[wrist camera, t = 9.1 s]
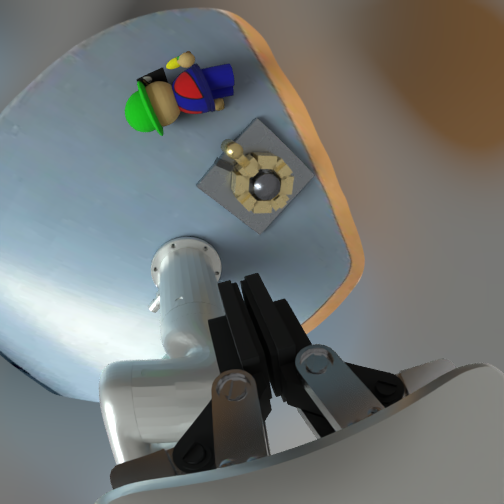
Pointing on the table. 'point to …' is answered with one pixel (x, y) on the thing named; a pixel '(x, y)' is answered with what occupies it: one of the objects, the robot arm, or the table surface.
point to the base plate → (262, 183)
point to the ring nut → (250, 168)
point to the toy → (178, 94)
